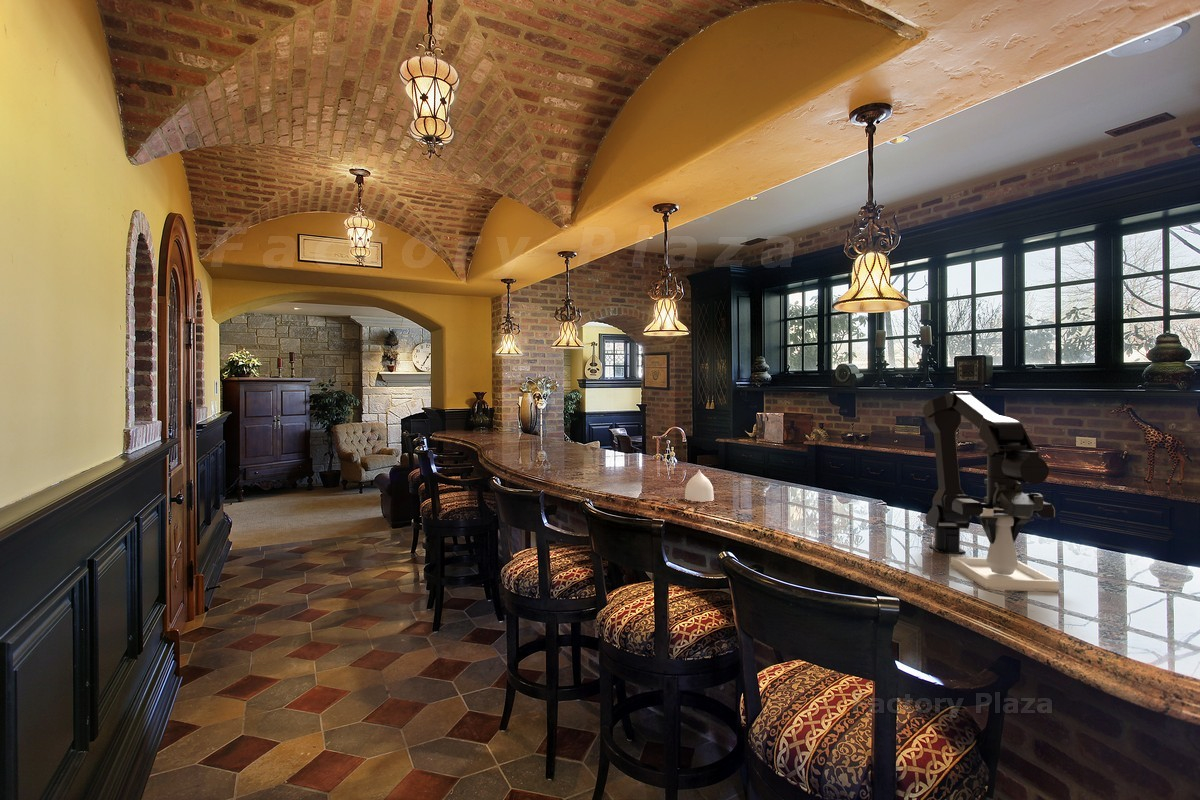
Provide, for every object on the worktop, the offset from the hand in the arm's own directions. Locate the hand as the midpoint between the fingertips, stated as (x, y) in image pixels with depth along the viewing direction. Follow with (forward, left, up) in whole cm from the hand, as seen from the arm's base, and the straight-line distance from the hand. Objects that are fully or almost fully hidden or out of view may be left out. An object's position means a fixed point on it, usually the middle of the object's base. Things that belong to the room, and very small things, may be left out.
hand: (1001, 546), depth 130 cm
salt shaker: (0, 0, -6) cm, 6 cm away
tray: (0, 0, -7) cm, 7 cm away
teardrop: (-83, -64, -8) cm, 105 cm away
